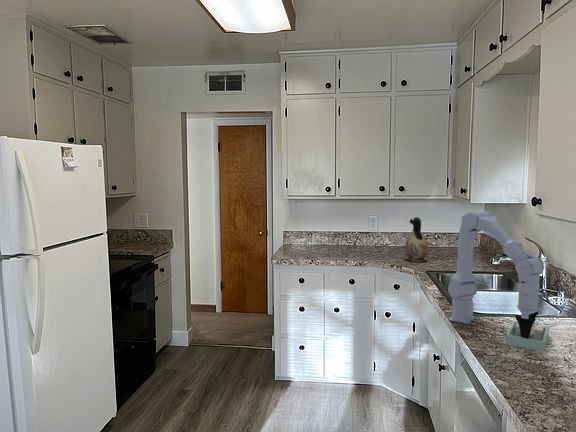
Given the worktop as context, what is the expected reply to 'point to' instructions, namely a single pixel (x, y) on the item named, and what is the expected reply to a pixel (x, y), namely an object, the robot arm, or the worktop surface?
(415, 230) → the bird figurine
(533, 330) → the tin can
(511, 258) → the robot arm
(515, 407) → the worktop surface
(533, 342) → the tote
